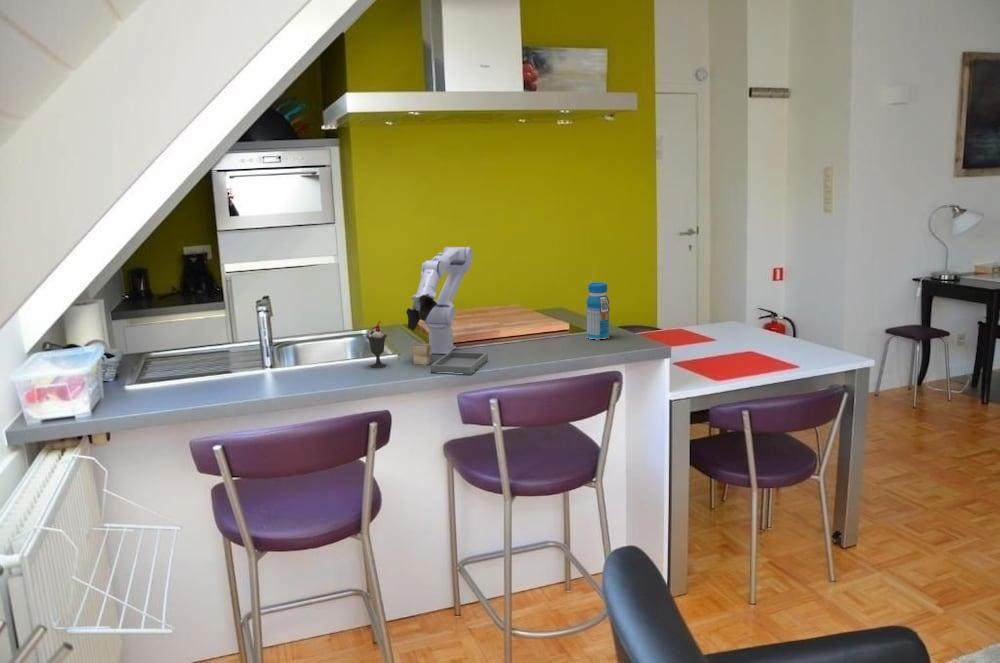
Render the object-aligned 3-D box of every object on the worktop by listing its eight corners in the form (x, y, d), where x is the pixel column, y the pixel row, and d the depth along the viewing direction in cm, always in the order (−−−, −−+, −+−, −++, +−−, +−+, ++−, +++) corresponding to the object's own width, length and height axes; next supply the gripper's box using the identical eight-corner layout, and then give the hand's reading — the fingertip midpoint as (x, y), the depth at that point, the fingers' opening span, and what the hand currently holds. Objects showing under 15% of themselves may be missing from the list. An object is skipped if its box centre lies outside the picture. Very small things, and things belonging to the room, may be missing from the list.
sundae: (385, 368, 250) (382, 322, 247) (365, 368, 251) (362, 322, 248) (391, 363, 256) (389, 318, 253) (372, 363, 257) (369, 318, 254)
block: (419, 361, 258) (418, 343, 257) (431, 361, 257) (431, 344, 256) (413, 364, 254) (413, 346, 253) (426, 365, 253) (426, 347, 252)
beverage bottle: (585, 340, 280) (585, 285, 276) (586, 335, 288) (586, 281, 284) (609, 340, 279) (609, 285, 275) (609, 335, 287) (609, 281, 283)
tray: (450, 358, 260) (450, 351, 260) (487, 360, 257) (487, 353, 256) (430, 373, 243) (430, 365, 243) (470, 375, 240) (470, 367, 239)
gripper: (406, 294, 261) (395, 327, 253) (426, 275, 250) (415, 309, 242) (424, 303, 263) (414, 336, 256) (445, 285, 252) (435, 319, 245)
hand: (416, 324), depth 249 cm, fingers open, 7 cm apart
